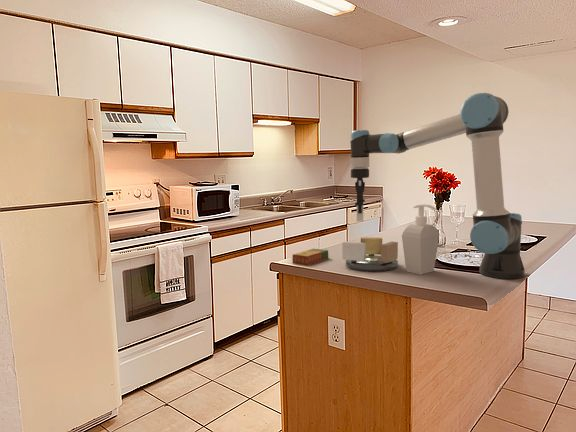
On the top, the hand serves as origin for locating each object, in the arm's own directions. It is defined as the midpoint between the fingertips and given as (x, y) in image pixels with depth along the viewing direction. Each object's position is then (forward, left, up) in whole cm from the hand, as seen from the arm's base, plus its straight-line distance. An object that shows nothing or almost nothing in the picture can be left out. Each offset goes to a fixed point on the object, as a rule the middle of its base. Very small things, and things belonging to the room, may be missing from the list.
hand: (360, 219), depth 187 cm
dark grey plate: (-7, -3, -18) cm, 20 cm away
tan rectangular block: (-12, -8, -16) cm, 22 cm away
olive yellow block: (+1, -5, -16) cm, 17 cm away
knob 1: (-8, +5, -16) cm, 19 cm away
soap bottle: (-20, -19, -19) cm, 33 cm away
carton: (+7, +20, -19) cm, 28 cm away
